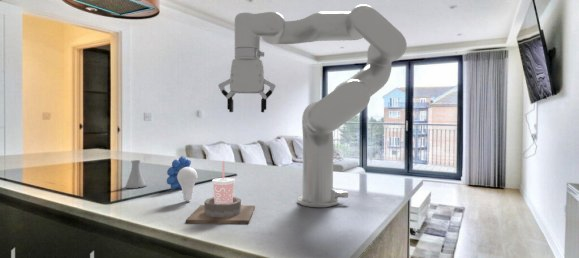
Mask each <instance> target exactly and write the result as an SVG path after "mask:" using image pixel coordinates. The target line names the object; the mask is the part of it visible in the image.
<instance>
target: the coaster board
mask: <svg viewBox="0 0 579 258" xmlns="http://www.w3.org/2000/svg"><path fill="white" fill-rule="evenodd" d="M203 202H204V204H200V205H199V206H198V207H197V208H196V209H195V210H194V211H193V212H192V213H191V214H190V215H189V216H188V217H187V218H186V219H185V223H186V224H241V223H249V224H250V222H251V219H252V217H253V215H254V212H255V208H256V205H247V204H246V205H242V199H241V198H239V197H237V196H233V203H230V204H215V203H214V196H213V197H211V198H207V199H205V200H204V201H203ZM253 211H254V212H253Z"/></svg>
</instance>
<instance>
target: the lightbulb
mask: <svg viewBox="0 0 579 258" xmlns="http://www.w3.org/2000/svg"><path fill="white" fill-rule="evenodd" d="M191 167H192V166H190V167H184V168H182V169H181V170H180V171H179V172H178V175H177V179H178V182H179V183H180V185H181V187H182V189H181V191H182V194H183V196H182V198H183V201H185V202H190V201H191V200H192V199H193V192H194V186H195V184H196V183H197V180H198V173H197V170H196V169H195V168H193V167H192V168H191Z"/></svg>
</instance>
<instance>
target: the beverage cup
mask: <svg viewBox="0 0 579 258" xmlns="http://www.w3.org/2000/svg"><path fill="white" fill-rule="evenodd" d="M211 181H212V182H211V184H212V185H213V197H214V203H215V204H230V203H233V197H234V188H235V187H234V186H235V182H236V179H235V178H233V177H225V161H224V160H223V161H222V177H216V178H213V179H212V180H211Z"/></svg>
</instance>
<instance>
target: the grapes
mask: <svg viewBox="0 0 579 258" xmlns="http://www.w3.org/2000/svg"><path fill="white" fill-rule="evenodd" d="M191 165H192V161H191V159H189V158H186V157H185V156H179V158H178V159H177V158H176V159H173V161H172V162H171V166H170V167H168V168H167V171H166V172H167V175H168V177H167V179H166V184H167V185H169V186H170V189H171V190H172V191H174V190H175V191H176V190H177V189H179V190H182V187H181V185H180V183H179V182H178V179H177V175H178V172H179V171H180V170H181V169H182V168H184V167H191V168H193V167H192V166H191Z"/></svg>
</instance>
